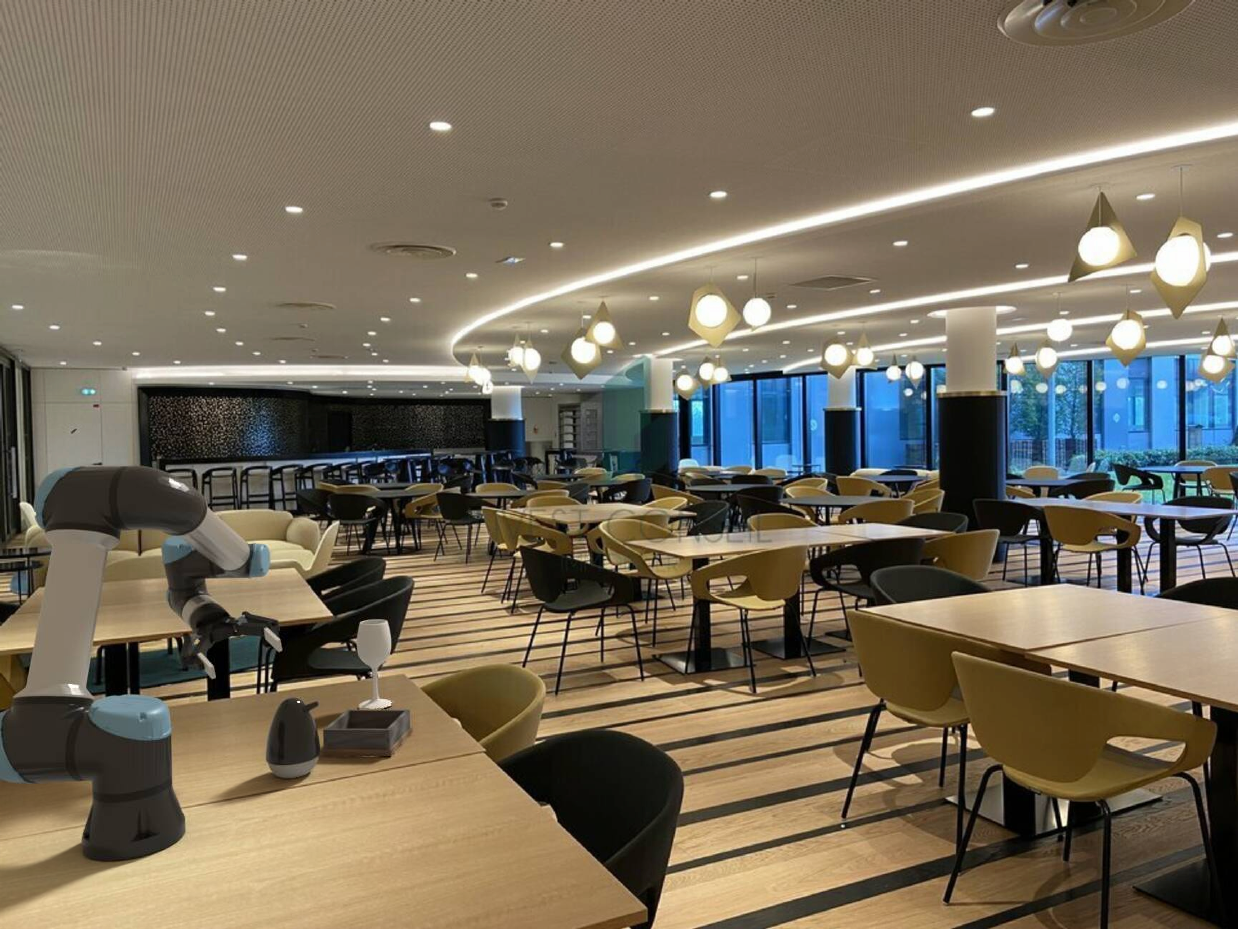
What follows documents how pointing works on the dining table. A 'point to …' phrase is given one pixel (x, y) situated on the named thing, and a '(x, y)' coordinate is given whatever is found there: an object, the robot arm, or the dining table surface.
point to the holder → (367, 733)
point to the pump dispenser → (293, 739)
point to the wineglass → (374, 654)
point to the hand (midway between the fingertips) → (247, 659)
